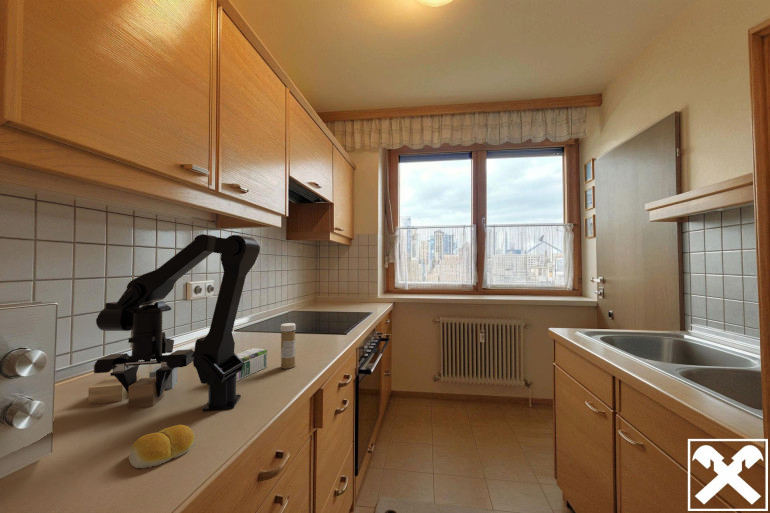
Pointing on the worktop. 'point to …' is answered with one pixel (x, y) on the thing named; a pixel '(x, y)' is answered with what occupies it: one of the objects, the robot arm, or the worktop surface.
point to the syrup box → (252, 362)
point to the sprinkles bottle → (288, 345)
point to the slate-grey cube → (171, 380)
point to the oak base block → (107, 391)
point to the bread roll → (161, 446)
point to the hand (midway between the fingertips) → (147, 397)
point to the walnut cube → (143, 393)
